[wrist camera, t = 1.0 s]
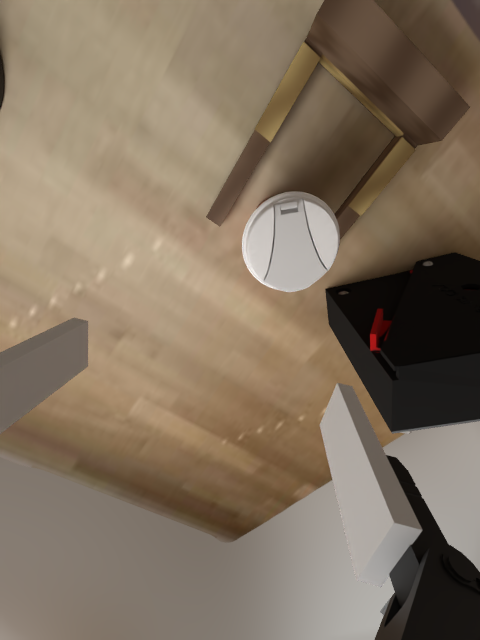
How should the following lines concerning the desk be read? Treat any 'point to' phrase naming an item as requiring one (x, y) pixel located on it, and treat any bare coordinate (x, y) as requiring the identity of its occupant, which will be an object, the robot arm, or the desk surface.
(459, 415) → the electrical component
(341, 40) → the guide channel
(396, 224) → the desk surface
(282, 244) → the coffee cup
